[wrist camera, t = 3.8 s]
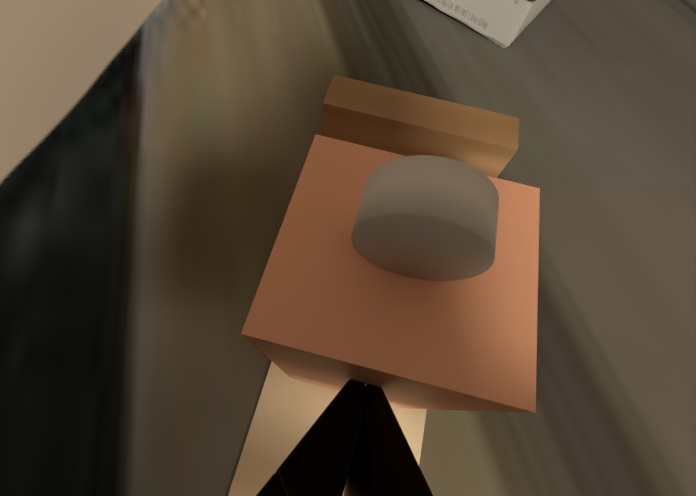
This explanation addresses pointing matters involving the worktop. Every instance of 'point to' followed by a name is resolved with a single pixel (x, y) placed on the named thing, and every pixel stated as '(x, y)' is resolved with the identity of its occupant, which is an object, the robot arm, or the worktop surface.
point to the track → (396, 137)
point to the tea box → (493, 16)
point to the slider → (404, 281)
